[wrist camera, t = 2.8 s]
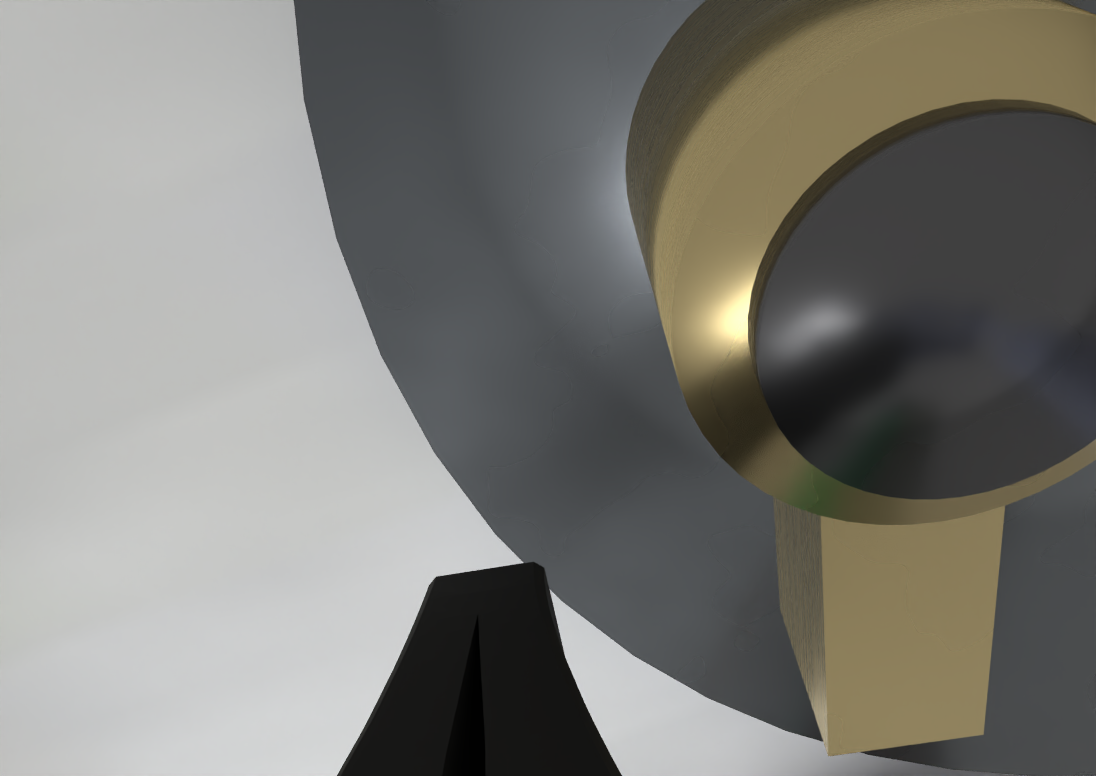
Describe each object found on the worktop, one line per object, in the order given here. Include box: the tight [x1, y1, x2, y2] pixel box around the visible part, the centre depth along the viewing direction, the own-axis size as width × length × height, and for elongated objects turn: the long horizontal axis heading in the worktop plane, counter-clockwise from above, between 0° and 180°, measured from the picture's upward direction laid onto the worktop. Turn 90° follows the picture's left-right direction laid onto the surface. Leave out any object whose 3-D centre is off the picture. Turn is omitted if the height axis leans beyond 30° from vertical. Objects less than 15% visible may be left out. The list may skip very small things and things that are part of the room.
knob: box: [625, 0, 1096, 756], centre depth 10 cm, size 8×4×4 cm, turn 10°
